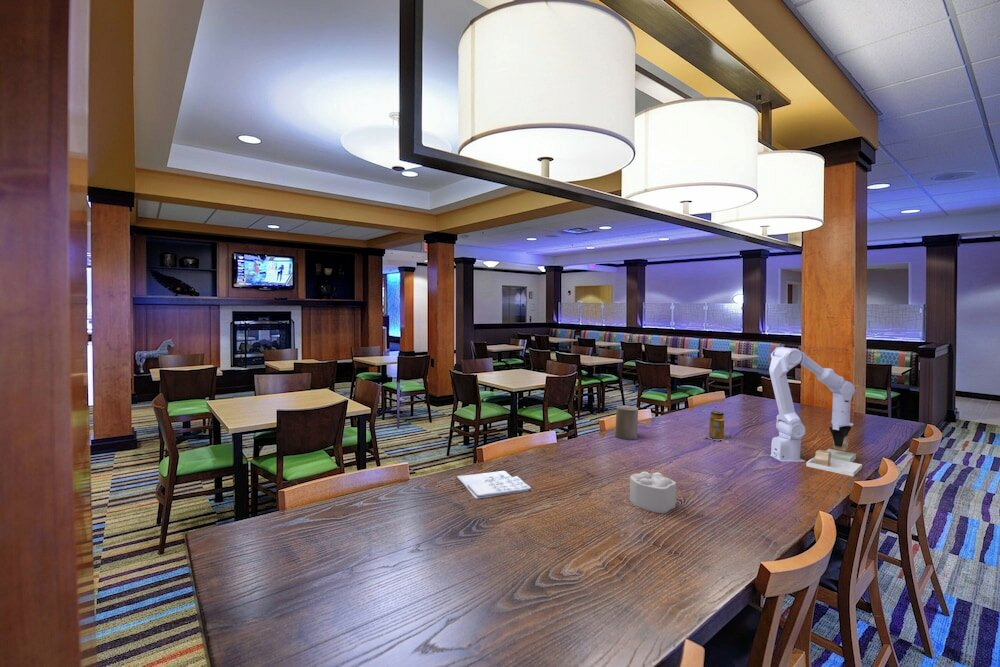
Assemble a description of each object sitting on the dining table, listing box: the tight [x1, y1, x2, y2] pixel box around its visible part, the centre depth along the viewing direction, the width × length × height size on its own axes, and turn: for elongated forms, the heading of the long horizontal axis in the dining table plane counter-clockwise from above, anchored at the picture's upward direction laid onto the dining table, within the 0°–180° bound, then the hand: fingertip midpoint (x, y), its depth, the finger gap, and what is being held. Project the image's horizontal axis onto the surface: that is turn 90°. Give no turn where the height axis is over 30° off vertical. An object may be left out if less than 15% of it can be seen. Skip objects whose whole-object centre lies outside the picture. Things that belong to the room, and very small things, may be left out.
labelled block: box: [832, 435, 849, 452], centre depth 186 cm, size 4×4×5 cm
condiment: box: [703, 410, 725, 439], centre depth 216 cm, size 7×8×12 cm
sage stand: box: [825, 448, 857, 463], centre depth 186 cm, size 9×9×2 cm
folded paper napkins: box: [456, 470, 532, 500], centre depth 158 cm, size 19×20×2 cm
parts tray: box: [805, 456, 863, 478], centre depth 176 cm, size 14×13×2 cm
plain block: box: [814, 449, 831, 467], centre depth 178 cm, size 4×4×5 cm
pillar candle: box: [615, 405, 639, 441], centre depth 217 cm, size 10×10×15 cm
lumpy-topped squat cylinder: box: [629, 471, 677, 514], centre depth 143 cm, size 10×13×9 cm
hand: (839, 445), depth 186 cm, fingers closed on labelled block, 4 cm apart
